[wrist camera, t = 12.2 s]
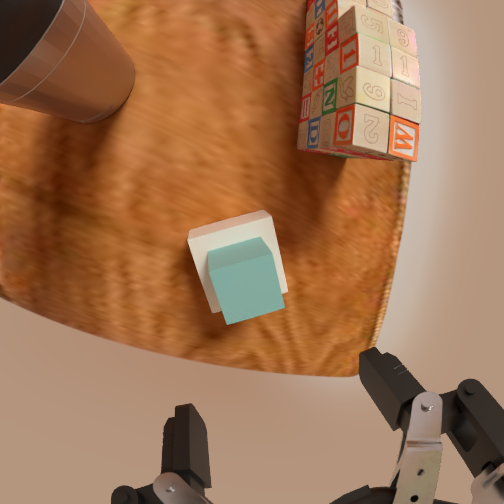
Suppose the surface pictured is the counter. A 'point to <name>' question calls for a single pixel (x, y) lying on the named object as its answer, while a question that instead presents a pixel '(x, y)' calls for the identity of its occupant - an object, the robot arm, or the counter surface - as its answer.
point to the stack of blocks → (359, 82)
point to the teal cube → (245, 280)
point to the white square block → (228, 235)
